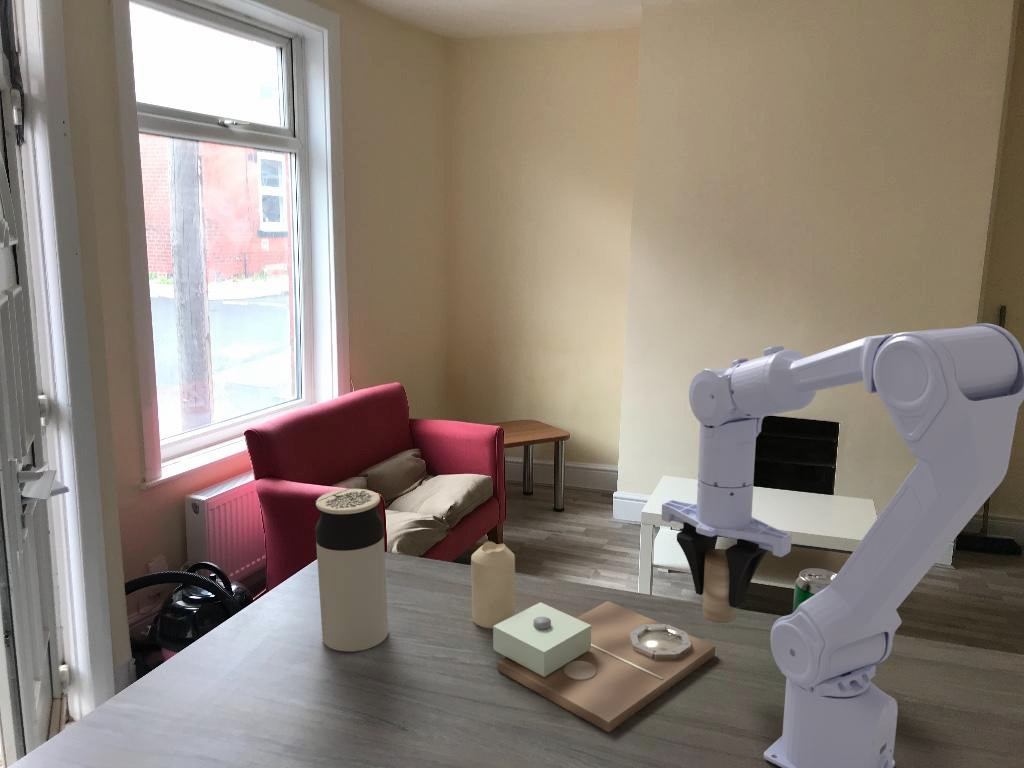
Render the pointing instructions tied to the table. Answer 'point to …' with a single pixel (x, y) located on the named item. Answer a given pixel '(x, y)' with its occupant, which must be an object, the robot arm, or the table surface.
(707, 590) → the peg
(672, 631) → the socket ring
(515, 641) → the cover
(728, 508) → the robot arm
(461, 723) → the table surface
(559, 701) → the board
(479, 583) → the candle
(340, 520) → the travel mug
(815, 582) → the soda can
